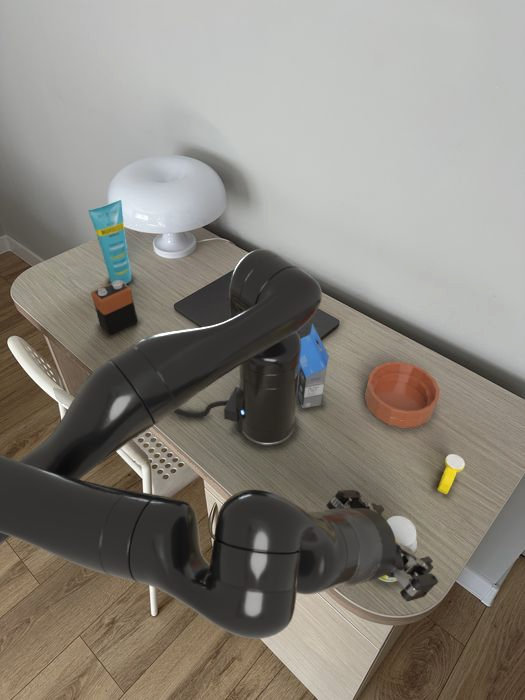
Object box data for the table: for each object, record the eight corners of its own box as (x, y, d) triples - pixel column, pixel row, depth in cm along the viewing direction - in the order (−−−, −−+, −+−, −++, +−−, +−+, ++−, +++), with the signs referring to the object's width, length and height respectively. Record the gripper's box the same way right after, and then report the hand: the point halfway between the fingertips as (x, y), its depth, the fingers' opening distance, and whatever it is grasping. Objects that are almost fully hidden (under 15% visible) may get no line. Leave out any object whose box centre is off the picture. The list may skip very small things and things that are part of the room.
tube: (113, 290, 112) (94, 214, 99) (102, 281, 115) (82, 205, 102) (140, 277, 116) (125, 202, 103) (129, 269, 119) (113, 194, 106)
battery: (138, 322, 104) (130, 284, 97) (110, 336, 101) (99, 298, 94) (128, 313, 107) (119, 275, 100) (99, 326, 103) (88, 287, 96)
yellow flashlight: (448, 502, 74) (459, 481, 70) (430, 494, 76) (440, 473, 71) (458, 473, 78) (469, 451, 74) (441, 465, 79) (451, 444, 75)
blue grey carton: (287, 374, 94) (291, 325, 85) (306, 371, 94) (312, 322, 86) (301, 409, 87) (307, 360, 79) (322, 405, 88) (329, 356, 80)
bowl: (359, 419, 86) (362, 402, 83) (370, 372, 94) (374, 355, 91) (429, 437, 83) (436, 421, 80) (435, 387, 92) (441, 370, 89)
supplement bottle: (378, 536, 70) (391, 502, 64) (412, 560, 68) (429, 527, 61) (359, 565, 67) (370, 532, 61) (393, 591, 65) (410, 560, 58)
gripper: (285, 518, 56) (347, 515, 69) (371, 631, 48) (424, 605, 61) (325, 470, 55) (381, 477, 68) (421, 579, 46) (464, 563, 59)
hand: (401, 537), depth 64 cm, fingers open, 8 cm apart
